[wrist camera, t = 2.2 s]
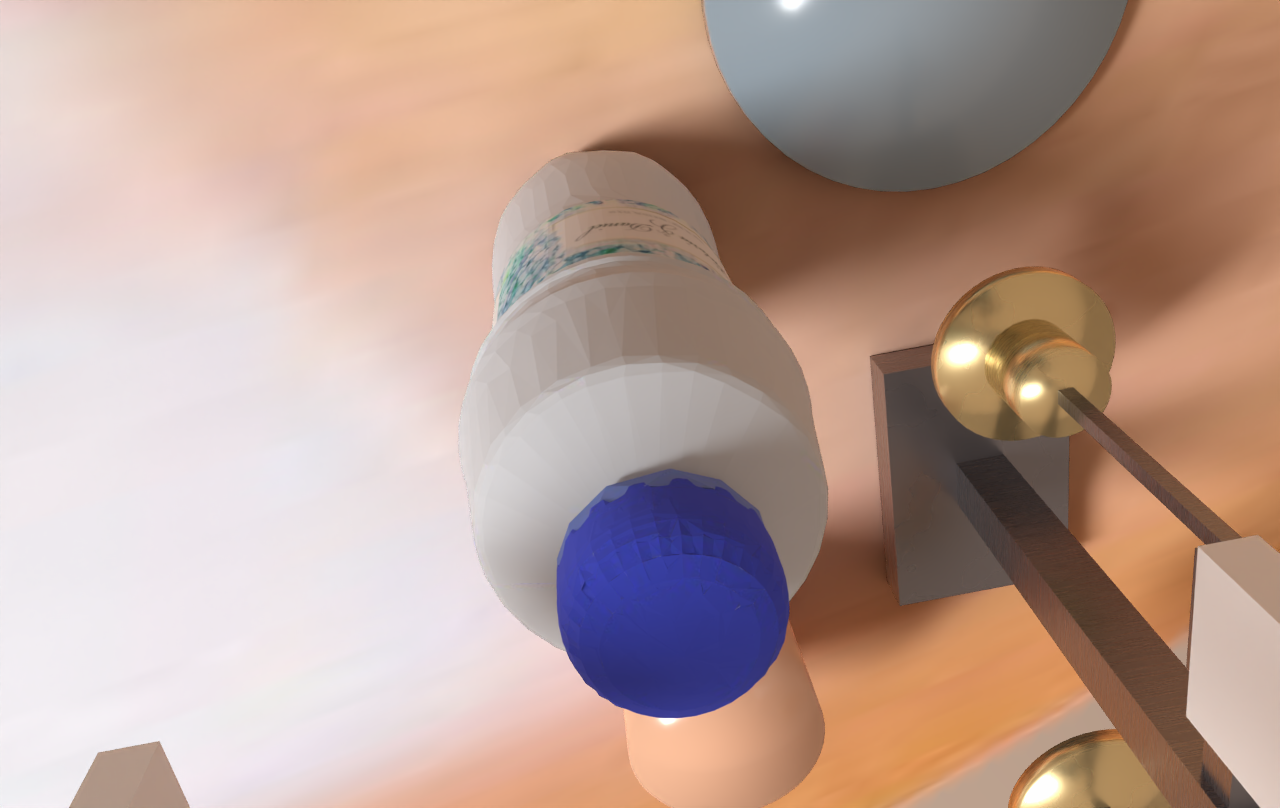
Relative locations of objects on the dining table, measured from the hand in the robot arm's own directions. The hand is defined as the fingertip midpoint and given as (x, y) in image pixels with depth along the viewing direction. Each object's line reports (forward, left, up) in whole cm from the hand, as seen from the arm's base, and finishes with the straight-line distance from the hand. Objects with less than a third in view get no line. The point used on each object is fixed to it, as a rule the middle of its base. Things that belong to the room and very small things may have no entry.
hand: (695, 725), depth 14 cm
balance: (+10, +11, -21) cm, 26 cm away
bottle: (0, 0, -21) cm, 21 cm away
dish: (-6, +10, -21) cm, 24 cm away
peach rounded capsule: (+14, +1, -21) cm, 25 cm away
